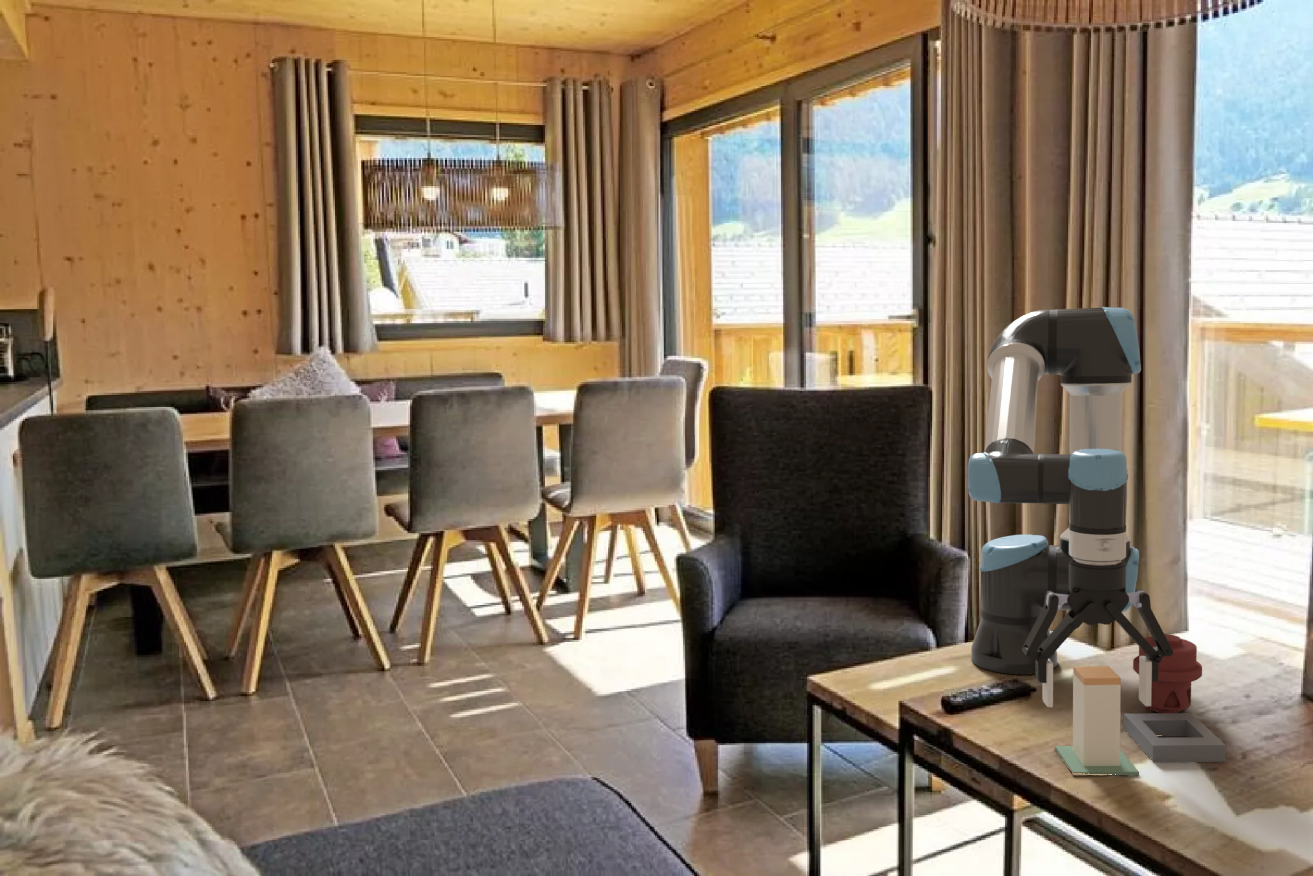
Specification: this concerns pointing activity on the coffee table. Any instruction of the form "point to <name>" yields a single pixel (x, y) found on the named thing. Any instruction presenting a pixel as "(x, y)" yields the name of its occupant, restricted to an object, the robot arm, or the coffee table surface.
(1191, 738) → the grey square frame
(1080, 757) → the plug
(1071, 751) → the mat
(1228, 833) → the coffee table surface
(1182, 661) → the mechanical component
